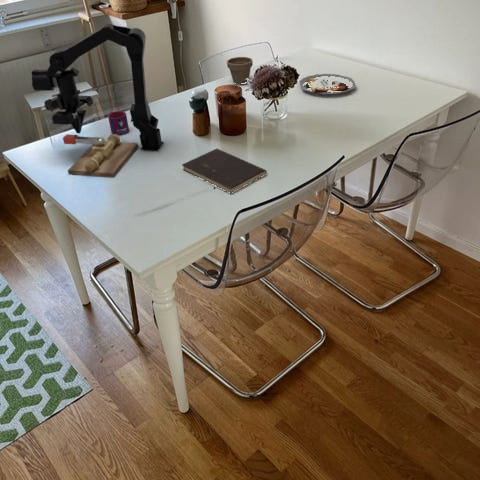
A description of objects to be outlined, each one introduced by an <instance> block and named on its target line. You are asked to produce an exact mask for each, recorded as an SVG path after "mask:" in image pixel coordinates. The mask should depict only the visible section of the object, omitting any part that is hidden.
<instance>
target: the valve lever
mask: <svg viewBox="0 0 480 480" xmlns="http://www.w3.org/2000/svg"><path fill="white" fill-rule="evenodd" d="M62 140H63V144H64V145H76V144H84V145H93V144H97V145H103V144H105V141H106V140H105V138H104V137H103V136H101V137H99V136H97V137H96V136H94V137H93V136H78V134H65V136H63V137H62Z"/></svg>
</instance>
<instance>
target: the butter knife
mask: <svg viewBox="0 0 480 480" xmlns="http://www.w3.org/2000/svg"><path fill="white" fill-rule="evenodd" d="M210 187H211V188H212V187H213V186H210ZM210 187H208V190H209V188H210ZM211 188H210V189H211ZM206 191H207V188H205V189H202V190H199V191H196V192H195V193H192V194H190V195H188V196H185V197H183V200H184V199H188V198H191V197H195V196H198V195H202V194H204V192H205V193H207V192H208V191H207V192H206ZM201 193H202V194H201Z"/></svg>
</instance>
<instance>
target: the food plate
mask: <svg viewBox="0 0 480 480" xmlns="http://www.w3.org/2000/svg"><path fill="white" fill-rule="evenodd" d="M321 76H328V77H330V76H335V77H341V78H344V79H348V80H349V82H350V81H351V82H352V83H353V84H352V85H353V86H352V87H351V88H348V86H346V84H344V83H340V82H338V84H337V86H338V87H339V88H337V86H334V87H336V88H333V87H332V88H331V87H330V89H325V87H322V88H323V89H322V88H319V87H315V88H314V87H309V85H308V83H309V84H310V83H311V82H310V81H312V82H314V81H316V80H318V79H314V78H316V77H321ZM327 81H328V80H327ZM305 82H308V83H307V84H306V85H304V86H303V84H304V83H305ZM333 84H335V81H334V82H332V85H333ZM299 85H300V89H301V90H302V91H304V92H308V93H310V94H317V95H338V94H339V95H340V94H343V93H349V92H351V91H353V90H354V89H356V88H357V87H356V86H357V85H356V83H355V81H354V79H353V78H352V77H349V76H345V75H341V74H336V73H321V74H319V73H318V74H313V75H308V76H307V75H306V76H305V77H302V78H301V79H300V80H299ZM310 85H311V84H310ZM317 85H318V84H317ZM321 85H322V84H321ZM311 86H312V85H311ZM308 88H311V90H312V91H310V90H307V89H308ZM328 90H332V91H341V92H333V93H331V92H327V91H328Z"/></svg>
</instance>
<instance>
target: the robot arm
mask: <svg viewBox="0 0 480 480" xmlns="http://www.w3.org/2000/svg"><path fill="white" fill-rule="evenodd" d="M107 41H111V42H113V43H114V44H116V45H119V46H121V47H124V48H125V49H126V52H127V55H128V58H129V61H130V68H131V77H132V86H133V99H134V103H131V107H130V110H129V114H130V116H131V117H130V123H132V125H133V127H134V128H135V129H137V130H138V132H139V141H140V145H141V147H140V150H141V151H156V152H157V151H159V150H160V148H161V147H162V146H163V144H164V143H165V142H164V141H162V137H161V136H162V135H161V129H160V128H158V125H159V119H158V118H157V117H156V116H154V115H153V114H152V112H151V108H150V105H149V102H148V99H147V89H146V87H147V86H146V77H145V65H144V64H145V63H144V56H145V48H146V34H145V32H144V31H143V30H142V29H140V28H137V27H134V28H130V27H126V26H121V25H115V24H112V23H105V24H104V25H103V26H102V27H100V28H98V29H97V30H95V31H93V32H91V33H90V34H87V36H84V37H83V38H82V39H79V40H78V41H77V42H75V43H72V44H68V45H67V44H66V45H65V46H61V47H59V48H56V50H54V52H53V53H52V54H50V57H49V66H48V68H47V69H33V70H31V71H30V72H31V75H32V76H31V86H32V88H33V91H34V92H51V91H52V92H53V91H55V88H58V93H57V94H56V96H55V97H52V98H49V99H46V100H45V101H44V107H45V109H46V111H50V112H54V110H57V109H59V110H60V111H59V110H58V111H57V112H55V113H54V114H53V115H52V116H51V121H52V124H53V125H71V127H72V128H73V130H74V131H75V132H76V133H77V134H80V133H82V132H81V131H82V128H83V124H84V121H85V116H86V113H87V109H83V108H82V107H83V106H85V104H86V105H87V106H88V107H92V106H93V104H94V100H93V98H92V96H90V95H80V94H81V90H80V89H78V87H77V84H76V80H75V77H78V76H79V75H80V71H79V70H78V69H76V68H75V67H74V66H72V65H73V63H74V62H76V61H77V60H78V58H80V57H81V56H83V55H86V53H89V52H90V51H92V50H93V49H94V48H97V47H98V46H100V45H102V44H104V43H105V42H107ZM70 66H72V67H71V68H70V69H68V68H69V67H70ZM63 110H64V111H63Z"/></svg>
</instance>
